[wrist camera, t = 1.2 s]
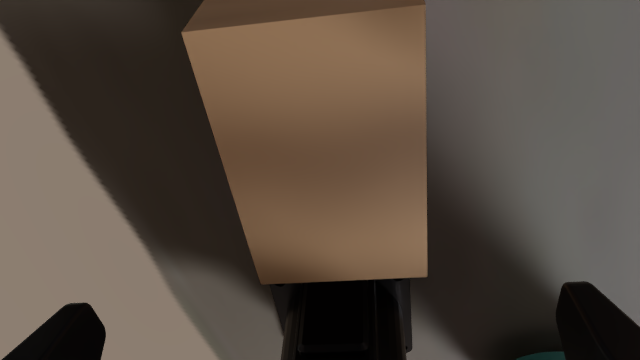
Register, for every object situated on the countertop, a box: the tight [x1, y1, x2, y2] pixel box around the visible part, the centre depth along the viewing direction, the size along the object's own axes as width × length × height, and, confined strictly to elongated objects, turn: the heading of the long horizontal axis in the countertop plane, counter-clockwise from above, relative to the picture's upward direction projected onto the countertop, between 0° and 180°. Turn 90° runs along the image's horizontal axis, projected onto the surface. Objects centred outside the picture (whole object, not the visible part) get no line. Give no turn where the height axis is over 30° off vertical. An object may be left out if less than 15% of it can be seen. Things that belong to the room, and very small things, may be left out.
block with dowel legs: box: [181, 0, 427, 284], centre depth 15 cm, size 8×5×6 cm, turn 8°
